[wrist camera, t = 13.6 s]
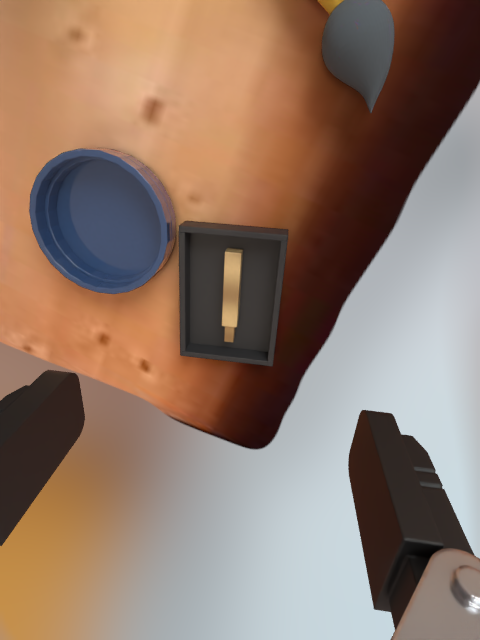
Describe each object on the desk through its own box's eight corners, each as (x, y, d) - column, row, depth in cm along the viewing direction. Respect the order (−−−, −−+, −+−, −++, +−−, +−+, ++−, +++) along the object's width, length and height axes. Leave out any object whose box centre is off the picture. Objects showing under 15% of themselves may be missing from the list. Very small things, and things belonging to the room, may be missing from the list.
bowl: (40, 144, 35) (16, 143, 31) (176, 153, 34) (164, 154, 30) (62, 275, 40) (43, 286, 37) (178, 287, 39) (168, 300, 36)
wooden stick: (227, 247, 36) (224, 251, 35) (243, 249, 36) (241, 253, 35) (223, 335, 41) (221, 342, 39) (237, 337, 41) (235, 344, 39)
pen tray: (185, 220, 36) (178, 225, 34) (288, 229, 35) (288, 235, 33) (185, 344, 42) (180, 355, 40) (273, 354, 42) (272, 366, 39)
